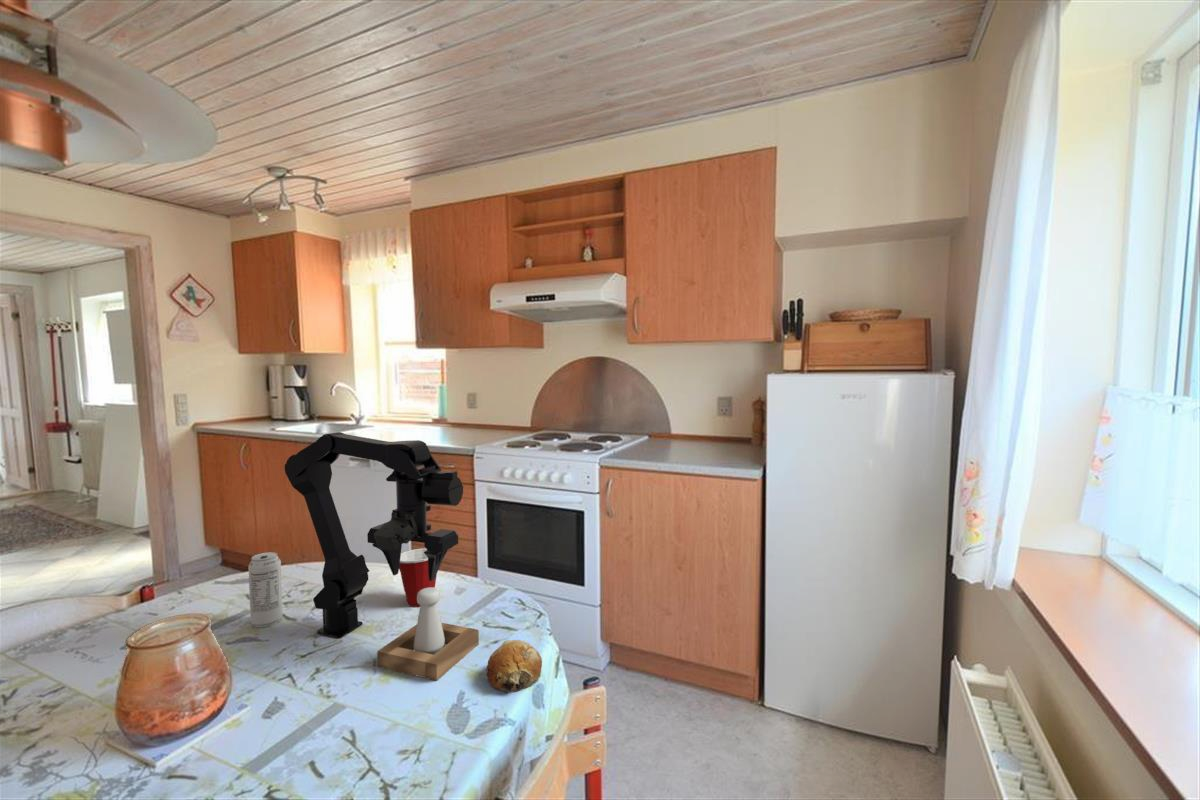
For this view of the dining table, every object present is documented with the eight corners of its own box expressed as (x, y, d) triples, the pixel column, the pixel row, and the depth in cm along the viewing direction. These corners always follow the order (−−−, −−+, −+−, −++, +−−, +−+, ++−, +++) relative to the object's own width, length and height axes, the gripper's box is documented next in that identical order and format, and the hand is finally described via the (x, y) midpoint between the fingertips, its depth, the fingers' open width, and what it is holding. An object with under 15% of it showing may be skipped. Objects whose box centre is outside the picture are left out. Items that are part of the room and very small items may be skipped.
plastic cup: (425, 588, 133) (423, 542, 133) (452, 599, 127) (451, 550, 126) (386, 603, 125) (384, 554, 124) (413, 615, 118) (412, 564, 118)
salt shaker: (435, 664, 98) (433, 597, 98) (408, 661, 100) (406, 595, 99) (450, 648, 104) (449, 585, 103) (424, 645, 105) (423, 582, 105)
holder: (377, 666, 98) (377, 651, 98) (424, 633, 110) (424, 619, 110) (436, 680, 93) (436, 664, 93) (478, 644, 106) (478, 629, 106)
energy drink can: (286, 614, 119) (283, 550, 119) (278, 626, 114) (276, 559, 113) (255, 618, 117) (253, 553, 117) (246, 630, 112) (244, 562, 111)
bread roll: (547, 691, 96) (554, 644, 99) (523, 698, 87) (532, 645, 90) (499, 681, 99) (507, 635, 102) (472, 686, 90) (482, 636, 93)
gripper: (344, 508, 102) (347, 586, 103) (423, 517, 96) (425, 600, 97) (386, 496, 113) (388, 566, 113) (459, 503, 106) (460, 577, 107)
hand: (413, 577), depth 107 cm, fingers open, 9 cm apart
